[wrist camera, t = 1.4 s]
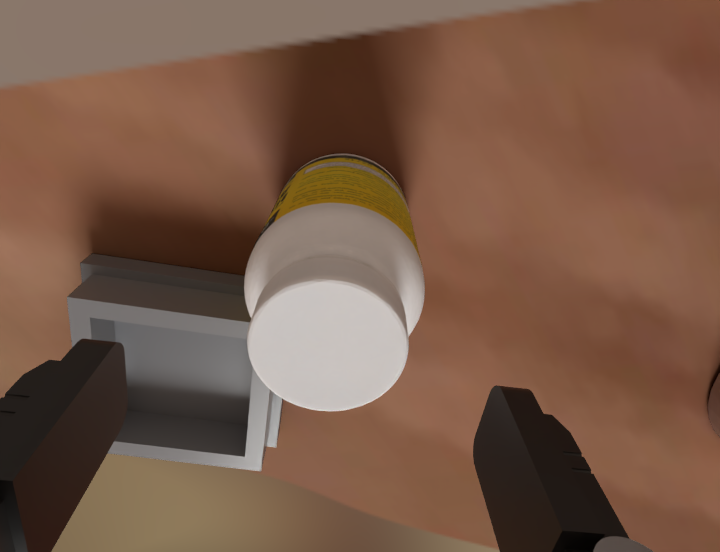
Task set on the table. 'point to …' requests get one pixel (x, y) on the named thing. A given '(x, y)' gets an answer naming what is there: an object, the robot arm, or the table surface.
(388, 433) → the table surface
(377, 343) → the supplement bottle
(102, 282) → the square open box
